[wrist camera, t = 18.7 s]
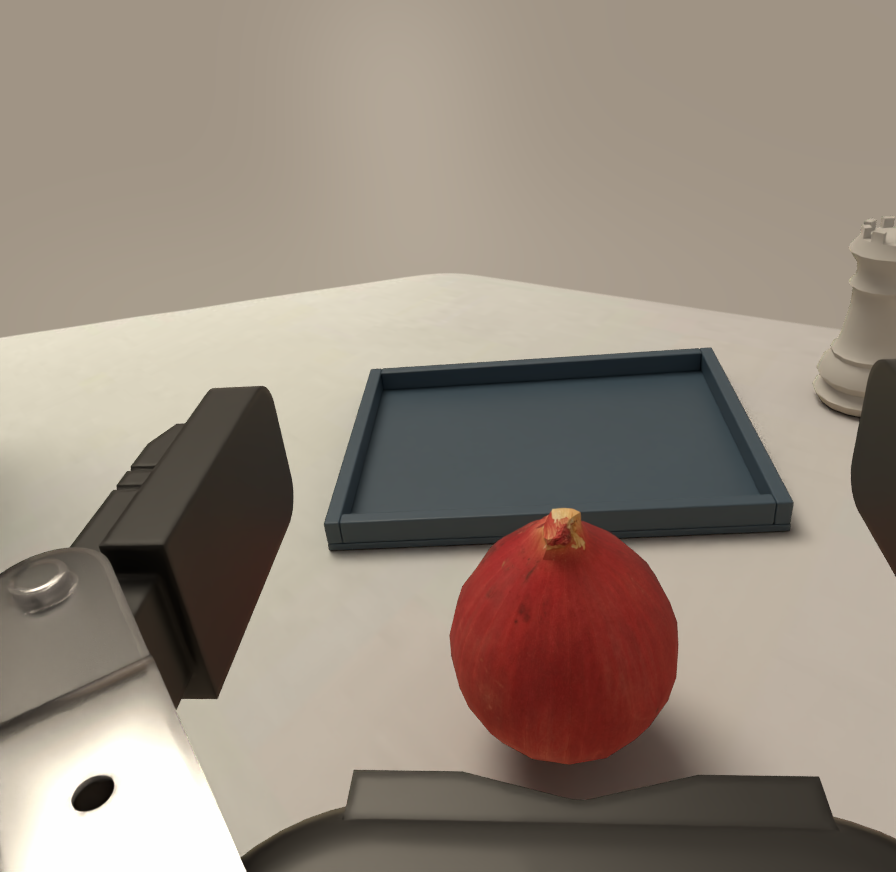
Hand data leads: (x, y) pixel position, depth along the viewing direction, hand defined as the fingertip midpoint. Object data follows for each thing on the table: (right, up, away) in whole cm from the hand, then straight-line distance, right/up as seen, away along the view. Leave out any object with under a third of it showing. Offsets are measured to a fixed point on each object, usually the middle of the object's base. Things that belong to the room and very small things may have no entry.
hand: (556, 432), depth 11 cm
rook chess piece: (+18, +2, +26) cm, 32 cm away
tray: (+3, -1, +25) cm, 25 cm away
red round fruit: (+2, -9, +12) cm, 15 cm away
